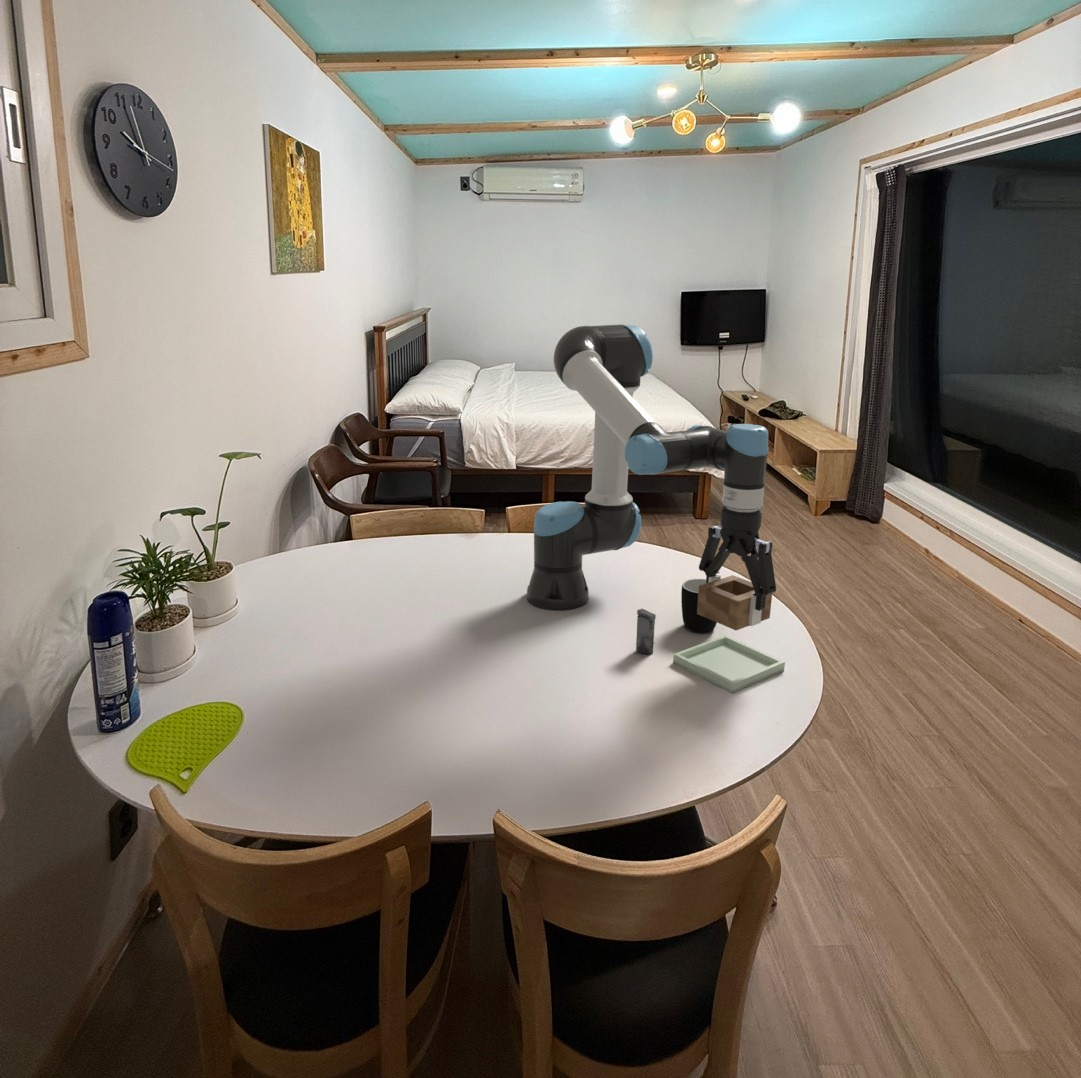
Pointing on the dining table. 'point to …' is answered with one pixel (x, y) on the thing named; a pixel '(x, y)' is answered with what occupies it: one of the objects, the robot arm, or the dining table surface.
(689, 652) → the tray
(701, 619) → the mug
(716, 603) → the wooden open box
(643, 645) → the dark grey upright block
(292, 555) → the dining table surface
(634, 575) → the dining table surface
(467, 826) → the dining table surface
